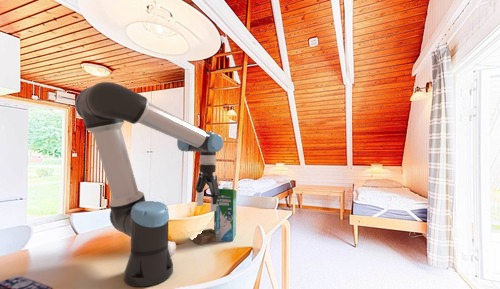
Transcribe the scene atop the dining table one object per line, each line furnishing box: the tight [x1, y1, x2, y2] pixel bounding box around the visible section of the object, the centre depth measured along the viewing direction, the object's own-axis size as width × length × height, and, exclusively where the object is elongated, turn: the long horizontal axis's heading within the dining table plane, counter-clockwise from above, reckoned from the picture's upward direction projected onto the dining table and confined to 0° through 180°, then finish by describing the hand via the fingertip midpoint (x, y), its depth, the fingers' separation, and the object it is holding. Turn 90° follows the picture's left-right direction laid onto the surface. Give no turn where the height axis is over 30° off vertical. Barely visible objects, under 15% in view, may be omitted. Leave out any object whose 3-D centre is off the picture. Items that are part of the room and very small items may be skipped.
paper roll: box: [168, 240, 177, 257], centre depth 99 cm, size 6×6×12 cm
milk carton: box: [213, 186, 237, 242], centre depth 119 cm, size 9×9×25 cm
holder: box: [191, 228, 216, 246], centre depth 117 cm, size 14×10×3 cm
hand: (206, 208), depth 117 cm, fingers open, 13 cm apart
